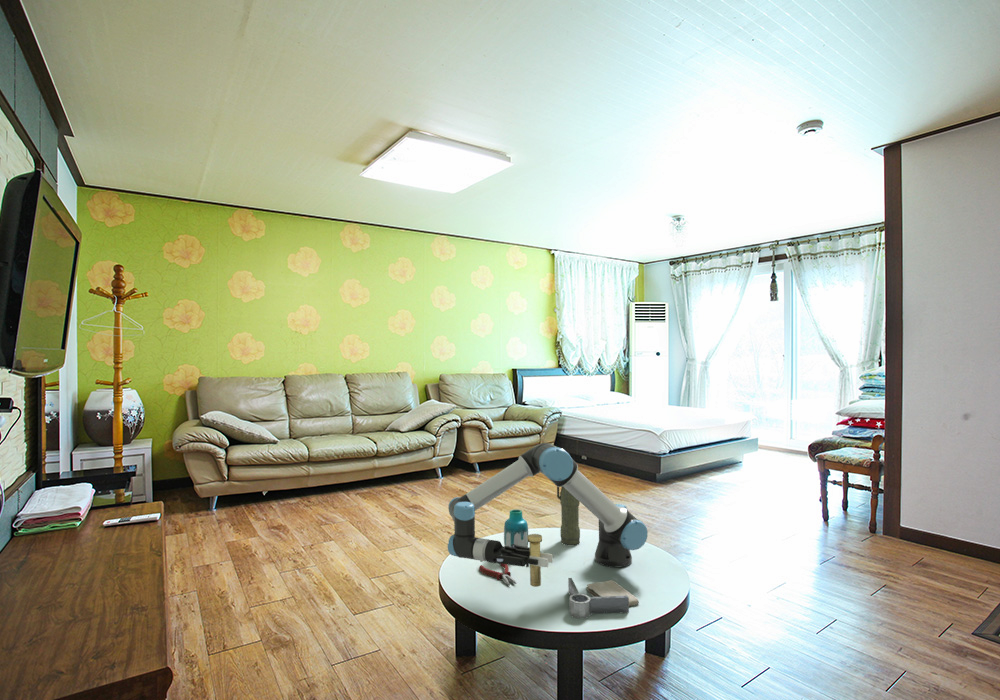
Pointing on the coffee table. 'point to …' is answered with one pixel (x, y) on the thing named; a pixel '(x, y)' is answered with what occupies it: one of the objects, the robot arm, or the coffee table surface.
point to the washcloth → (610, 591)
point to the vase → (515, 529)
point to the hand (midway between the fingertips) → (549, 560)
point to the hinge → (594, 603)
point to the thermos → (569, 517)
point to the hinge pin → (535, 551)
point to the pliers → (499, 574)
